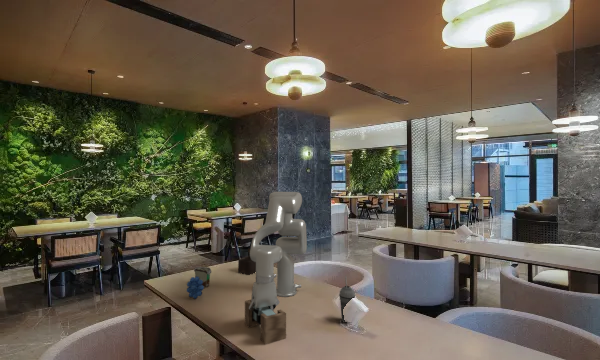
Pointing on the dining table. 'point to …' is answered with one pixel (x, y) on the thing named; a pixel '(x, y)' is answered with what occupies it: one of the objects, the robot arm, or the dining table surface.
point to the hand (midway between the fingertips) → (264, 321)
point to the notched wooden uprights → (268, 324)
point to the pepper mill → (246, 265)
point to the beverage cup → (345, 297)
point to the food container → (203, 275)
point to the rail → (263, 312)
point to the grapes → (195, 287)
